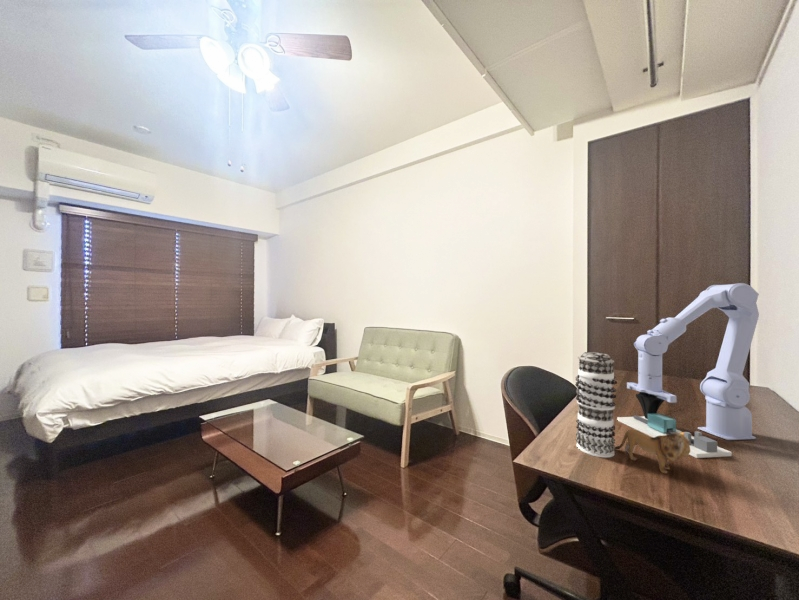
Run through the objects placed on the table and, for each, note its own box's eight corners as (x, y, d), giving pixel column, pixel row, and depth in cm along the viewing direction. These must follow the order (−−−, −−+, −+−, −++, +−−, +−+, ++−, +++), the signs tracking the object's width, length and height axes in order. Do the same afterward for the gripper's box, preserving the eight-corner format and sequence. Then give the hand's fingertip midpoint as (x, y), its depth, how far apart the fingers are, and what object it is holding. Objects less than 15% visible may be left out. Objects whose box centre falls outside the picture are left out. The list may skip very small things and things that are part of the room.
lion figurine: (693, 474, 69) (694, 434, 69) (686, 482, 66) (686, 440, 66) (618, 447, 81) (618, 413, 81) (609, 453, 78) (609, 417, 78)
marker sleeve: (659, 425, 93) (659, 413, 93) (676, 432, 88) (676, 419, 88) (647, 425, 92) (647, 413, 92) (663, 432, 87) (663, 419, 87)
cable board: (644, 419, 101) (644, 407, 101) (731, 456, 77) (731, 440, 77) (617, 420, 100) (617, 408, 100) (696, 458, 76) (696, 441, 76)
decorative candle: (621, 450, 79) (622, 354, 79) (609, 462, 73) (610, 358, 73) (582, 438, 86) (583, 349, 86) (569, 448, 80) (570, 352, 80)
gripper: (618, 369, 101) (618, 410, 101) (660, 380, 86) (660, 429, 86) (638, 368, 101) (637, 409, 101) (683, 380, 87) (683, 428, 87)
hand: (649, 418), depth 94 cm, fingers closed
